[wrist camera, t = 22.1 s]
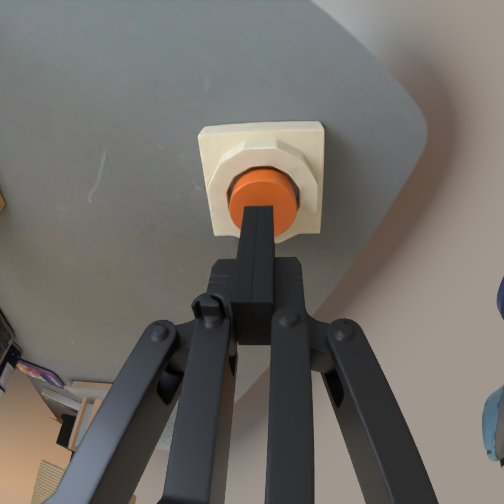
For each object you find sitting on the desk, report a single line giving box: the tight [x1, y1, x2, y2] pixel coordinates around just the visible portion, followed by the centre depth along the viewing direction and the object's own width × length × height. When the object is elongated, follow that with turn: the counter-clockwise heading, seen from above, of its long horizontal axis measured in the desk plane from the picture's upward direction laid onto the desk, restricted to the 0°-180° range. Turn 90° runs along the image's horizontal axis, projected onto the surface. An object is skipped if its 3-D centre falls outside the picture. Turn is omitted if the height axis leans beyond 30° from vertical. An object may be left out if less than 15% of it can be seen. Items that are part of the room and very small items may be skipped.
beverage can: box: [0, 342, 21, 397], centre depth 42 cm, size 6×6×12 cm
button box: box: [198, 121, 325, 243], centre depth 20 cm, size 8×8×4 cm
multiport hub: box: [41, 387, 81, 413], centre depth 61 cm, size 4×14×2 cm, turn 70°
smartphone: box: [16, 360, 64, 389], centre depth 52 cm, size 1×7×15 cm
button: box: [229, 169, 297, 236], centre depth 18 cm, size 4×4×2 cm
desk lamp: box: [31, 381, 136, 504], centre depth 39 cm, size 20×20×35 cm
